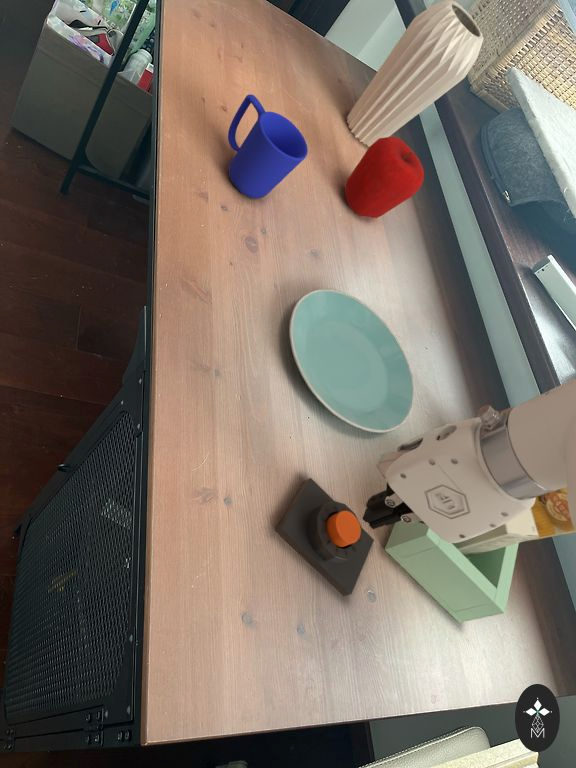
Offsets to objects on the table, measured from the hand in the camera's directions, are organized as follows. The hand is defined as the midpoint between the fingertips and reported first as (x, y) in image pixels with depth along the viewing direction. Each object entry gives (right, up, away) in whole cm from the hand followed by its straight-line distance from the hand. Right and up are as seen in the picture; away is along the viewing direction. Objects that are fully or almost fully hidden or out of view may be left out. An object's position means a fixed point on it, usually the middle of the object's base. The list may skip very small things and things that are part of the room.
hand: (371, 513), depth 65 cm
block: (-5, -4, +5) cm, 8 cm away
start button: (-3, -3, +4) cm, 6 cm away
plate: (-1, +16, +21) cm, 27 cm away
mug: (-16, +45, +27) cm, 55 cm away
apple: (+3, +45, +43) cm, 63 cm away
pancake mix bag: (+20, -3, +27) cm, 34 cm away
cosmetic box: (+11, -7, +16) cm, 21 cm away
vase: (+6, +64, +57) cm, 85 cm away
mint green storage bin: (+11, -7, +16) cm, 21 cm away
